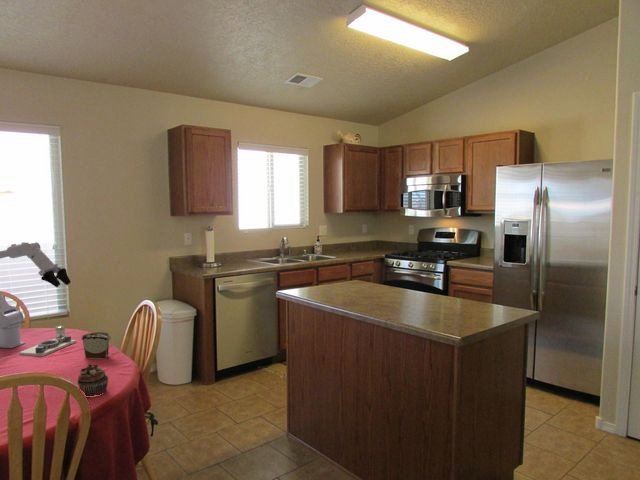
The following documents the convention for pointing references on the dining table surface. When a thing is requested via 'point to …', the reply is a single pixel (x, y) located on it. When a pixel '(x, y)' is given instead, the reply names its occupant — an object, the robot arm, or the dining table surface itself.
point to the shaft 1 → (41, 348)
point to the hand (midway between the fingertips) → (63, 284)
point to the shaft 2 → (64, 339)
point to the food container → (96, 345)
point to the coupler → (60, 331)
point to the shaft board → (33, 351)
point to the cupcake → (92, 380)
